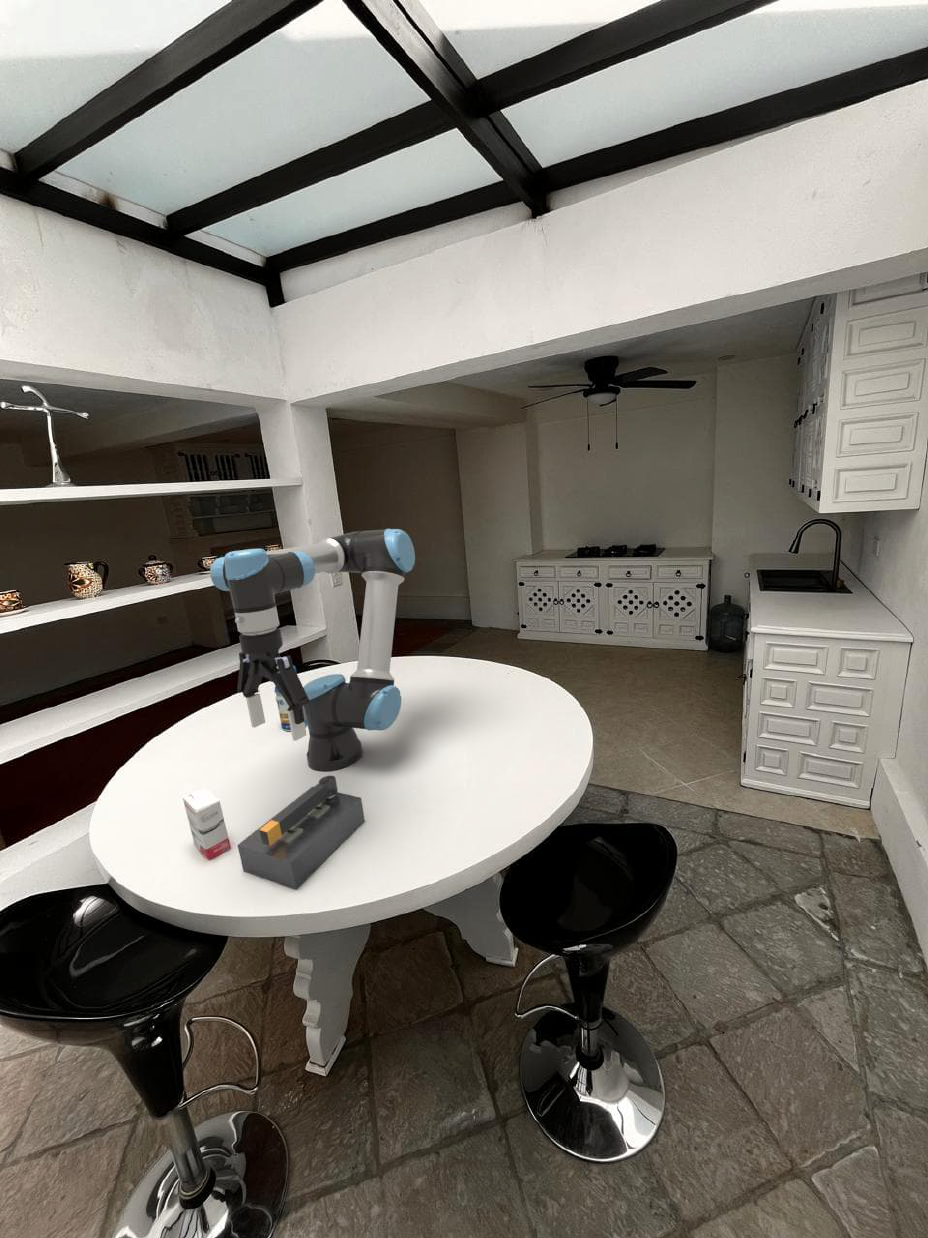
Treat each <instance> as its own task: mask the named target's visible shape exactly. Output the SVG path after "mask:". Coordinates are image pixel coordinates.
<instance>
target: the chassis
mask: <svg viewBox="0 0 928 1238" xmlns="http://www.w3.org/2000/svg"><path fill="white" fill-rule="evenodd" d="M313 787H314V786H311V787H310V788H308V790H306V791H305V792H303V793H302V794H301V795H300V796H298V797H297V798H296V799H295V800H293V801H292V802H291V803H289V804H288V805H287V806H286V807H284V808H283V809H282V810H281V811H279V812H278V813H276V814H275V815H274V816H272V818H270V819H269V820H267V821H266V822H265V823H264V824H262V825H261V826H260V827H258V828H257V829H256V830H255V831H253V832H252V833H251V834H249V835H248V836H247V837H246V838H245V839H243V840H242V841H241V842H240V843H238V844H237V849H238V854H239V858H240V863H241V865H242V870H243V871H242V872H245V873H247V874H250V875H254V876H255V877H259V878H261V879H264V880H266V881H270V882H272V883H275V884H279V885H281V886H284V887H286V888H289V889H292V890H294V891H297V890H298V889H299V888H300V887H301V886H302V885H303V884H304V883H305V882H306V881H307V880H308V879H309V878H310V877H311V876H313V874H314V873H315V872H316V871H317V870H318V869H319V868H320V867H321V866H322V865H323V864H324V863H325V862H326V861H327V860H328V859H329V858H330V857H331V856H332V855H333V854H334V853H336V851H337V850H338V849H339V848H340V847H341V846H342V845H343V844H344V843H345V842H346V841H347V840H348V839H349V838H350V837H351V836H352V835H353V834H354V833H355V832H356V831H357V830H358V829H359V828H360V827H361V826H362V825H363V824H364V823H365V822H366V820H365V813H364V808H363V807H364V806H363V800H362V797H360V796H354V795H351V794H346V793H343V792H338V791H337V793H336V794H335V795H333V796H330V797H328V798H326V799H325V800H324V801H323V802H322V803H320V804H319V805H318V806H317V807H316V808H314V809H313V810H312V811H311V812H310V813H309V814H307V815H306V816H305V817H304V818H303V819H301V820H300V821H299V822H298V823H297V824H295V825H294V826H293V827H292V828H291V829H289V830H288V831H287V832H286V833H285V834H284V835H282V837H281V838H279V839H278V840H277V841H276V842H275V843H273V844H272V845H271V846H268V845H264V844H262V841H261V836H260V832H259V829H261V828H262V827H263V826H264V825H266V824H267V823H268V822H270V821H271V820H273V819H274V818H275V817H276V816H278V815H279V814H280V813H282V812H283V811H284V810H285V809H287V808H288V807H289V806H290V805H292V804H293V803H294V802H296V801H297V800H298V799H299V798H301V797H302V796H303V795H304V794H306V793H307V792H308V791H310V790H311V789H312V788H313Z"/></svg>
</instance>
